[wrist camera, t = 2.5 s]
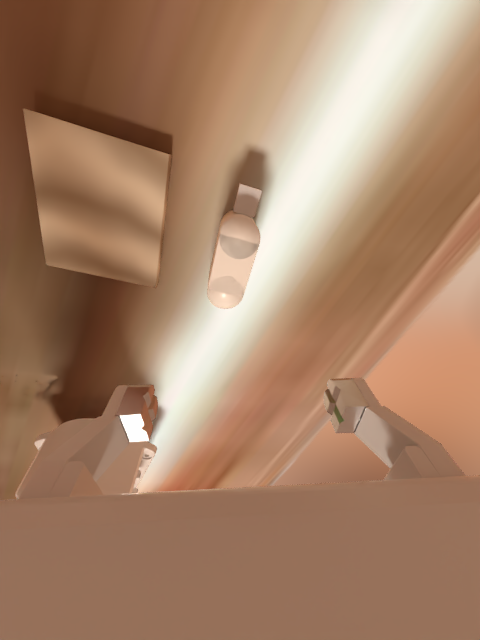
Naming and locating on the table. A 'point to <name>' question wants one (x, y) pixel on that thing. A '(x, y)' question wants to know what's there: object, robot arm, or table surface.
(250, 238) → the connector
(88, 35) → the table surface
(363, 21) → the table surface
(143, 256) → the birch board
